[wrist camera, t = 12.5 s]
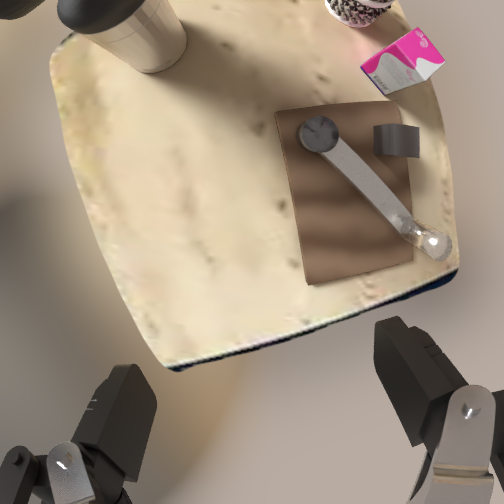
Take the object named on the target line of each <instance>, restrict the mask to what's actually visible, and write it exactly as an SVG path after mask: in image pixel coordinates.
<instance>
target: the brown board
mask: <svg viewBox="0 0 504 504" xmlns="http://www.w3.org/2000/svg"><path fill="white" fill-rule="evenodd" d="M316 116H324V117H327V118H329V119H331V120H332V121H333V122H334V123H335V125H336V126H337V128H338V131H339V137H340V138H341V139H342V140H343V141H344V142H345V143H346V144H347V145H348V146H349V147H350V148H351V149H352V150H353V151H354V152H355V153H356V154H357V155H358V156H359V157H360V158H361V159H362V160H363V161H364V162H365V163H366V164H367V165H368V166H369V167H370V168H371V169H372V171H373V172H374V173H375V174H376V175H377V176H378V177H379V178H380V179H381V180H382V181H383V182H384V184H385V185H386V186H387V187H388V188H389V189H390V190H391V191H392V193H393V194H394V195H395V196H396V197H397V198H398V200H399V201H400V202H401V203H402V204H403V206H404V207H405V208H406V209H407V210H408V212H409V213H410V214H411V215H412V209H411V195H410V183H409V173H408V165H407V157H415V158H419V151H420V145H419V127H414V126H408V125H402V124H401V119H400V114H399V109H398V104H397V101H370V102H354V103H342V104H331V105H322V106H314V107H306V108H299V109H292V110H285V111H279V112H276V113H275V118H276V122H277V127H278V131H279V136H280V141H281V145H282V150H283V155H284V160H285V165H286V170H287V175H288V180H289V185H290V190H291V196H292V201H293V206H294V212H295V218H296V223H297V229H298V235H299V241H300V247H301V253H302V259H303V266H304V272H305V279H306V282H307V284H308V285H313V284H317V283H322V282H326V281H331V280H335V279H339V278H344V277H348V276H352V275H356V274H360V273H365V272H369V271H373V270H377V269H381V268H385V267H389V266H393V265H396V264H400V263H404V262H408V261H412V260H413V244H411V243H410V242H408V241H407V240H405V239H404V238H402V237H401V236H399V235H398V234H397V233H396V232H395V230H394V229H393V228H392V227H391V226H390V225H389V224H388V223H387V221H386V220H385V219H384V218H383V217H382V216H381V215H380V214H379V213H378V212H377V211H376V209H375V208H374V207H373V206H372V205H371V204H370V203H369V202H368V201H367V200H366V199H365V198H364V197H363V196H362V195H361V194H360V193H359V192H358V191H357V190H356V189H355V188H354V187H353V186H352V185H351V184H350V183H349V182H348V181H347V180H346V179H345V178H344V177H343V176H342V175H341V174H340V173H339V172H338V171H337V170H336V169H335V168H334V167H333V166H332V165H331V164H330V163H328V162H327V161H326V160H325V159H324V158H323V157H322V156H321V155H320V154H319V153H318V152H308V151H306V150H304V149H303V148H301V147H300V145H299V144H298V142H297V139H296V132H297V129H298V127H299V126H300V124H301V123H303V122H305V121H306V120H308V119H310V118H312V117H316Z"/></svg>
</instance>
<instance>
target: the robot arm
mask: <svg viewBox="0 0 504 504" xmlns="http://www.w3.org/2000/svg"><path fill="white" fill-rule="evenodd" d="M44 1H45V0H0V19H7V20H13V19H17V18H20V17H23V16H25V15H26V14H28V13H29V12H31V11H32V10H33V9H35V8H36V7H37V6H39V5H40V4H41V3H42V2H44ZM57 12H58V16H59V18H60V20H61V22H62V23H63V24H64V25H65V26H67V27H69V28H70V29H72V30H74V31H75V32H77V33H79V34H80V35H82V36H84V37H86V38H87V39H89V40H91V41H92V42H94V43H96V44H97V45H99V46H101V47H102V48H104V49H105V50H107V51H109V52H110V53H112V54H113V55H115V56H116V57H118V58H119V59H121V60H123V61H124V62H125V63H127V64H129V65H130V66H132V67H133V68H135V69H136V70H138V71H140V72H144V73H155V72H160V71H163V70H165V69H167V68H169V67H170V66H172V65H173V64H174V63H176V62H177V61H178V60H179V58H180V57H181V56H182V54H183V53H184V51H185V48H186V45H187V37H186V33H185V31H184V29H183V27H182V25H181V23H180V21H179V19H178V18H177V16H176V14H175V12H174V10H173V9H172V7H171V5H170V3H169V2H168V0H59V1H58V5H57ZM374 365H375V369H376V372H377V375H378V377H379V379H380V381H381V383H382V384H383V387H384V389H385V391H386V393H387V394H388V397H389V399H390V401H391V403H392V405H393V407H394V409H395V411H396V413H397V415H398V417H399V419H400V421H401V423H402V425H403V428H404V430H405V432H406V434H407V436H408V438H409V440H410V443H411V445H412V447H414V446H417V445H419V444H421V443H424V445H425V446H426V449H427V451H426V453H425V456H424V459H423V462H422V465H421V468H420V471H419V473H418V476H417V479H416V481H415V484H414V486H413V489H412V491H411V494H410V496H409V498H408V501H407V503H406V504H489V502H490V498H491V495H492V490H493V485H494V477H493V474H490V473H489V472H488V467H489V461H490V462H491V464H492V466H493V468H494V470H495V473H496V475H497V477H498V479H499V482H500V484H501V487H502V489H503V491H504V390H501V391H497V392H492V393H491V392H490V391H489V390H488V389H486V388H484V387H482V386H479V385H469V384H468V383H467V382H466V381H465V379H464V378H463V377H462V375H461V374H460V373H459V371H458V370H457V369H456V368H455V366H454V365H453V364H452V363H451V361H450V360H449V359H448V357H447V356H446V355H445V354H444V353H442V350H441V349H440V348H439V346H438V345H436V343H435V342H434V340H433V339H432V338H431V337H430V336H429V334H428V333H426V332H425V331H423V330H421V329H419V328H418V327H416V326H413V327H410V328H408V327H407V326H406V324H405V323H404V322H403V321H402V319H401V318H400V317H398V316H394V317H391V318H388V319H385V320H382V321H378V322H376V324H375V334H374ZM91 400H92V401H90V402H89V404H88V406H87V410H86V411H85V413H84V414H83V417H82V419H81V421H80V423H79V425H78V427H77V429H76V431H75V433H74V435H73V437H72V440H71V441H70V442H62V443H59V444H57V445H56V446H54V447H53V448H52V449H51V450H50V452H49V454H48V455H39V456H34V455H33V454H32V453H31V452H30V451H29V450H28V449H27V448H26V447H24V446H16V447H14V448H12V449H11V450H10V451H9V452H8V453H7V454H6V456H5V458H4V461H3V463H2V465H1V467H0V504H28V501H29V498H30V495H31V492H32V493H33V494H34V495H36V496H37V497H39V498H40V499H41V500H42V502H41V504H133V503H132V501H131V500H130V498H129V496H128V494H127V492H126V490H125V489H124V488H123V487H122V486H123V482H124V481H130V482H137V480H138V475H139V472H140V468H141V463H142V460H143V456H144V453H145V449H146V445H147V442H148V438H149V434H150V431H151V427H152V423H153V420H154V416H155V413H156V409H157V400H156V396H155V394H154V392H153V390H152V389H151V387H150V385H149V384H148V382H147V380H146V378H145V377H144V375H143V373H142V371H141V370H140V368H139V367H138V366H137V365H136V364H124V365H116V366H114V368H113V369H112V371H111V373H110V375H109V377H108V379H106V380H105V381H104V382H103V383H102V384H101V385H100V386H99V387H98V388H97V389H96V391H95V393H94V395H93V397H92V399H91Z"/></svg>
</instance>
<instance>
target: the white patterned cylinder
mask: <svg viewBox="0 0 504 504" xmlns="http://www.w3.org/2000/svg"><path fill="white" fill-rule="evenodd" d="M394 1H395V0H325V6H326V8H327V9H328V11H329V13H330V14H331V15H332V16H333V17H334V18H335V19H336V20H338V21H339V22H341V23H343V24H345V25H347V26H351V27H356V28H360V27H367V26H368V25H370V24H371V23H373V21H374V20H377V19H378V18H377V17H376V15H378V16H379V17H381V16H382V12H386V11H387V9H389V8H391V4H392V3H393V2H394ZM386 8H387V9H386Z"/></svg>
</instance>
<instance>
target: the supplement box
mask: <svg viewBox="0 0 504 504" xmlns="http://www.w3.org/2000/svg"><path fill="white" fill-rule="evenodd" d="M445 62H446V61H445V60H444V59H443V57H442V56H441V55H440V53H439V52H438V51H437V49H436V48H435V47H434V46H433V44H432V43H431V42H430V41H429V39H428V38H427V37H426V36H425V35H424V33H423V32H422V31H421V30H420V29H419V28H416V29H414V30H412V31H410V32H409V33H407V34H406V35H404V36H402V37H401V38H399V39H398V40H396V41H395V42H393V43H392V44H390V45H389V46H387V47H386V48H384V49H383V50H381V51H380V52H378V53H377V54H376V55H374V56H373V57H371V58H370V59H369V60H368V61H366V62H365V63H364V64H362V65H361V66H360V68H361V69H362V70H363V71H364V72H365V74H366V75H367V76H368V77H369V78H370V79H371V81H372V82H373V83H374V84H375V85H376V86H377V88H378V89H379V90H380V91H381V92H382V94H383V95H387V94H390V93H393V92H395V91H398V90H401V89H404V88H406V87H409V86H412V85H415V84H418V83H421V82H424V81H426V80H427V79H428V78H429V77H430V76H432V74H434V73H435V72H436V71H437V70H438V69H439V68H440V67H441V66H442V65H443V64H444V63H445Z"/></svg>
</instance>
